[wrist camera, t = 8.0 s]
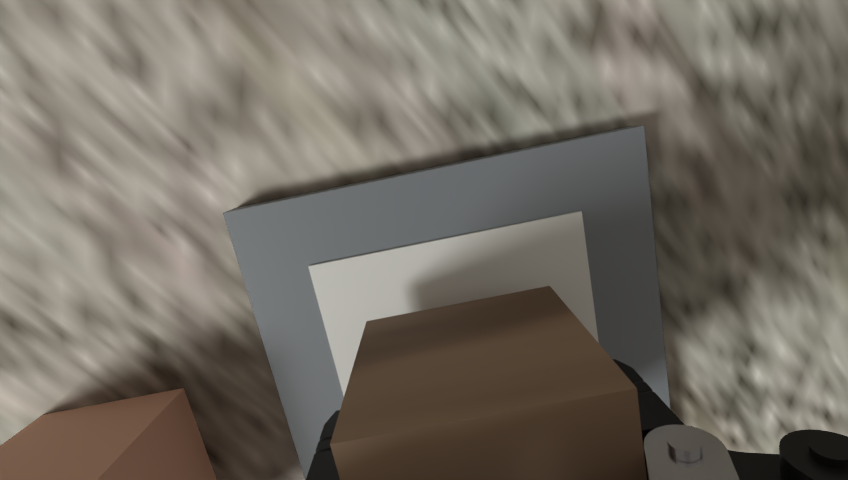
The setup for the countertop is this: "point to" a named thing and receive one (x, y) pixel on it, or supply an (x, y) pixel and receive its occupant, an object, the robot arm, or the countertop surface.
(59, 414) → the terracotta block
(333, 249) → the plate
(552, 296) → the walnut block
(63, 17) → the countertop surface
